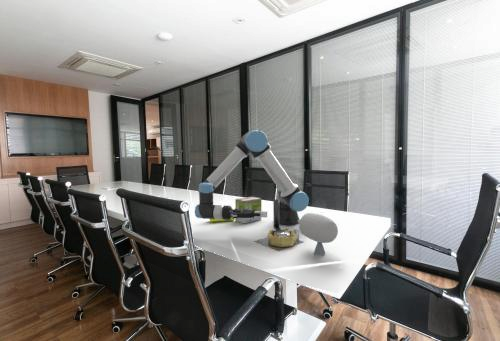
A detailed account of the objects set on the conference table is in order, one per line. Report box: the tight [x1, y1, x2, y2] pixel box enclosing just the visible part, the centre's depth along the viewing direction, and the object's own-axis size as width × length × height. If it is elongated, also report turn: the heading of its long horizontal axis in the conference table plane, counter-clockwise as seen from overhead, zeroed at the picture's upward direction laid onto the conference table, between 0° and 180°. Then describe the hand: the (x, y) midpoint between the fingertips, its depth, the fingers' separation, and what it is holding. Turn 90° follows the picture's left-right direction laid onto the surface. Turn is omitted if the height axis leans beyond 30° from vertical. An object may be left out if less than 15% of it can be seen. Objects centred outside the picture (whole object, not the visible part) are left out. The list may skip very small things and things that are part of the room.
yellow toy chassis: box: [209, 208, 235, 223], centre depth 168 cm, size 16×6×8 cm, turn 104°
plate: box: [253, 229, 304, 252], centre depth 124 cm, size 17×18×6 cm
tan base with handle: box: [267, 198, 296, 247], centre depth 124 cm, size 16×13×19 cm
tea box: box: [234, 196, 262, 224], centre depth 168 cm, size 15×10×15 cm, turn 131°
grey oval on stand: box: [298, 212, 339, 256], centre depth 111 cm, size 15×20×18 cm
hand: (266, 214), depth 131 cm, fingers closed
